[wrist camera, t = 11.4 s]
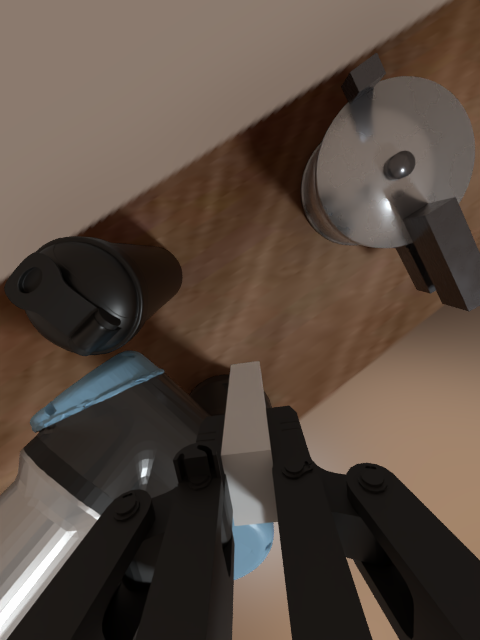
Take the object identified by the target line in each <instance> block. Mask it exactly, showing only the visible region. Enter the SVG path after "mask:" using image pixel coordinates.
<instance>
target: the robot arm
mask: <svg viewBox="0 0 480 640" xmlns="http://www.w3.org/2000/svg"><path fill="white" fill-rule="evenodd" d="M164 372H165V371H164V370H163V369H160V368H158V367H157V366H156V365H155V364H153V363H152V362H151V361H150V360H148V359H147V358H146V357H145V356H144V355H142V354H141V353H139V352H137V351H124V352H121V353H119V354H117V355H115V356H114V357H112V358H111V359H109V360H107V361H106V362H104V363H103V364H101V365H100V366H98V367H97V368H95V369H94V370H93V371H91V372H90V373H88V374H87V375H85V376H84V377H83V378H81V379H80V380H78V381H77V382H76V383H74V384H73V385H72V386H70V387H69V388H68V389H66V390H65V391H64V392H62V393H61V394H60V395H59V396H57V397H56V398H55V399H54V400H53V401H51V402H50V403H49V404H48V405H47V406H46V407H44V408H42V409H41V410H40V411H38V412H37V413H36V414H35V415H34V416H33V417H32V418H31V420H30V425H31V426H32V430H33V431H34V432H35V433H36V432H39V433H38V434H37V436H36V437H34V438H33V439H32V440H31V441H30V442H29V443H28V444H27V445H26V446H25V447H24V448H23V449H22V450H21V451H20V458H19V469H18V474H17V477H16V479H15V481H14V482H13V483H12V484H11V485H10V486H9V487H8V488H7V489H6V490H5V491H4V492H3V493H2V494H1V495H0V640H232V619H233V585H234V580H236V579H238V578H241V577H243V576H245V575H247V574H248V573H250V572H252V571H253V570H254V569H256V568H257V567H258V566H259V565H260V564H261V563H262V562H263V561H264V559H265V558H266V556H267V555H268V553H269V551H270V549H271V546H272V542H273V537H274V526H273V522H278V525H279V533H280V541H281V550H282V558H283V567H284V574H285V583H286V591H287V600H288V608H289V617H290V625H291V633H292V640H372V637H371V634H370V631H369V627H368V624H367V621H366V618H365V615H364V612H363V609H362V606H361V603H360V600H359V597H358V593H357V590H356V587H355V584H354V581H353V578H352V575H351V572H350V569H349V566H348V562H347V560H346V557H347V558H351V559H353V560H354V562H355V564H356V566H357V568H358V569H359V571H360V573H361V574H362V576H363V578H364V580H365V581H366V583H367V584H368V586H369V588H370V590H371V592H372V593H373V595H374V597H375V598H376V600H377V602H378V604H379V605H380V607H381V609H382V610H383V612H384V614H385V615H386V617H387V619H388V621H389V622H390V624H391V626H392V628H393V629H394V631H395V633H396V634H397V636H398V638H399V640H480V560H479V559H478V558H477V557H476V556H475V555H474V554H473V553H472V552H471V551H470V550H469V549H468V548H467V547H466V546H465V545H464V544H463V543H462V542H461V541H460V540H459V539H458V538H457V537H456V536H455V535H454V534H453V533H452V532H451V531H450V530H449V529H448V528H447V527H446V526H445V525H444V524H443V523H442V522H441V521H440V520H439V519H438V518H437V517H436V516H435V515H434V514H433V513H432V512H431V511H430V510H429V509H428V508H427V507H426V506H425V505H424V504H423V503H422V502H421V501H420V500H419V499H418V498H417V497H416V496H415V495H414V494H413V493H412V492H411V491H410V490H409V489H408V488H407V487H406V486H405V485H404V484H403V483H402V482H401V481H400V480H399V479H398V478H397V477H396V476H395V475H394V474H393V473H391V472H390V471H389V470H387V469H386V468H384V467H382V466H379V465H377V464H371V463H361V464H356V465H355V466H353V467H351V468H350V469H349V471H348V472H347V475H345V474H338V473H333V472H329V471H326V470H324V469H322V468H320V467H319V466H317V465H316V464H315V463H314V462H313V461H312V459H311V457H310V454H309V451H308V448H307V445H306V442H305V438H304V435H303V432H302V429H301V426H300V422H299V419H298V416H297V413H296V411H294V410H293V409H292V408H291V407H290V406H283V407H274V408H272V406H271V403H270V400H269V398H268V396H267V395H266V393H265V392H264V391H263V384H262V377H261V370H260V363H259V361H257V362H249V363H241V364H234V365H231V369H230V375H219V376H215V377H212V378H209V379H207V380H205V381H203V382H202V383H200V384H199V385H198V386H197V387H196V388H195V389H194V390H193V391H192V392H191V394H190V395H188V394H187V393H186V392H185V391H184V390H182V389H181V388H180V387H179V386H178V385H177V384H176V383H175V382H174V381H173V380H172V379H170V378H169V377H168V376H167V375H166V374H165V373H164Z"/></svg>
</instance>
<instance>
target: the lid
mask: <svg viewBox="0 0 480 640" xmlns="http://www.w3.org/2000/svg"><path fill="white" fill-rule="evenodd" d="M385 74H386V72H385V70H384V68H383V66H382V63H381V61H380V59H379V57H378V54H377V53H376V54H374V55H373V56H372V57H370V58H369V59H368V60H366V61H365V62H363V63H362V64H361V65H359V66H358V67H357V68H355V69H354V70H353V71H351V72H350V73H349V75H348V77H347V78H346V80H345V81H344V83H343V85H342V86H341V88H342V90H343V92H344V94H345V96H346V98H347V100H348V103H347V104H346V105H345V106H344V107H343V108H342V109H341V111H340V112H339V113H338V115H337V116H336V117H335V119H334V120H333V122H332V123H331V125H330V126H329V128H328V130H327V131H326V133H325V135H324V137H323V140H322V142H321V144H320V147H319V151H318V154H317V159H316V164H315V189H316V195H317V199H318V202H319V205H320V208H321V210H322V212H323V214H324V216H325V217H326V219H327V221H328V222H329V223H330V225H331V226H332V227H333V228H334V229H335V230H336V231H337V232H338V233H339V234H340V235H342V236H343V237H345V238H346V239H348V240H350V241H352V242H354V243H356V244H359V245H362V246H366V247H373V248H393V247H400V246H404V245H408V244H410V243H414V245H415V247H416V249H417V251H418V254H419V256H420V258H421V260H422V262H423V264H424V266H425V268H426V270H427V272H428V274H429V277H430V279H431V281H432V283H433V285H434V287H435V289H436V291H437V293H438V295H439V297H440V300H441V302H442V304H446V305H449V306H453V307H456V308H459V309H463V310H466V311H471V310H472V309H474V308H476V307H478V306H480V253H479V251H478V248H477V246H476V244H475V241H474V239H473V236H472V234H471V232H470V229H469V227H468V225H467V222H466V220H465V218H464V215H463V213H462V211H461V208H460V206H459V203H460V201H461V199H462V198H463V196H464V194H465V192H466V189H467V187H468V185H469V182H470V179H471V175H472V171H473V166H474V158H475V140H474V134H473V129H472V126H471V123H470V119H469V117H468V115H467V113H466V111H465V109H464V108H463V106H462V105H461V103H460V102H459V100H458V99H457V98H456V97H455V96H454V95H453V94H452V93H451V92H450V91H448V90H447V89H446V88H444V87H443V86H441V85H439V84H437V83H436V82H433V81H430V80H428V79H425V78H419V77H408V76H402V77H395V78H390V79H387V80H383V81H380V80H381V78H382V77H383V76H384V75H385ZM379 81H380V82H379Z"/></svg>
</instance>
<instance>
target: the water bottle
mask: <svg viewBox="0 0 480 640" xmlns="http://www.w3.org/2000/svg"><path fill="white" fill-rule="evenodd" d="M181 284H182V270H181V266H180V264H179V262H178V260H177V259H176V258H175V257H174V255H172V254H171V253H170V252H169V251H167V250H165V249H163V248H160V247H155V246H142V245H132V244H121V243H110V242H107V241H105V240H101V239H98V238H92V237H76V236H74V237H64V238H58V239H55V240H53V241H50V242H48V243H47V244H45V245H43V246H42V247H41V248H39V250H37V251H36V252H35V253H32V254H31V255H29V256H28V257H27V258H26V259H24V260H23V261H22V263H21V264H20V265H19V266H18V267H17V268H16V269H15V270H14V272H13V273H12V274H11V276H10V277H9V279H8V280H7V282H6V284H5V287H4V289H5V293H6V296H7V297H8V298H9V300H10V301H11V302H12V303H13V304H15V305H16V306H17V307H19V308H21V309H24V310H25V311H26V314H27V316H28V318H29V320H30V321H31V323H32V324H33V326H34V327H35V328H36V329H37V330H38V332H39V333H40V334H42V335H43V336H44V337H45V338H46V339H48V340H49V341H50V342H52V343H54V344H55V345H57V346H59V347H61V348H63V349H65V350H68V351H71V352H74V353H77V354H79V355H82V356H88V355H99V354H106V353H109V352H112V351H114V350H116V349H118V348H120V347H122V346H123V345H125V344H126V343H127V342H128V341H129V340H131V339H132V338H133V337H134V336H135V335H136V334H137V333H138V332H139V331H140V329H141V328H142V326H143V324H144V322H145V321H146V320H147V319H149V318H150V317H151V316H152V315H153V314H154V313H155V312H156V311H158V310H159V309H160V308H161V307H162V306H163V305H164V304H165V303H167V302H168V301H169V300H170V299H171V298H172V297H173V296H175V295H176V293H177V292H178V291H179V289H180V287H181Z"/></svg>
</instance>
